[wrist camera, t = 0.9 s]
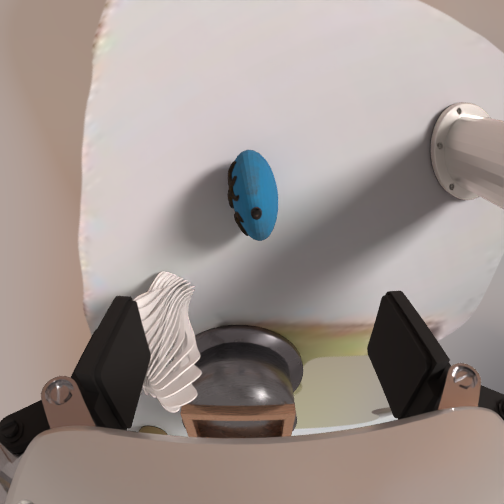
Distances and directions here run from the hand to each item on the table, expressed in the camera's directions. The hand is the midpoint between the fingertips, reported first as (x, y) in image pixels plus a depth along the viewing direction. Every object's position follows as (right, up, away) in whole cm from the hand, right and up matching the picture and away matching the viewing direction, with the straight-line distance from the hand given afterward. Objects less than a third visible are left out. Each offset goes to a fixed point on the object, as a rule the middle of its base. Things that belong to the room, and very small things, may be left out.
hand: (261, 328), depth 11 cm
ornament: (0, +10, +20) cm, 23 cm away
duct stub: (-2, -15, +32) cm, 36 cm away
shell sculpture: (-10, -2, +26) cm, 28 cm away
